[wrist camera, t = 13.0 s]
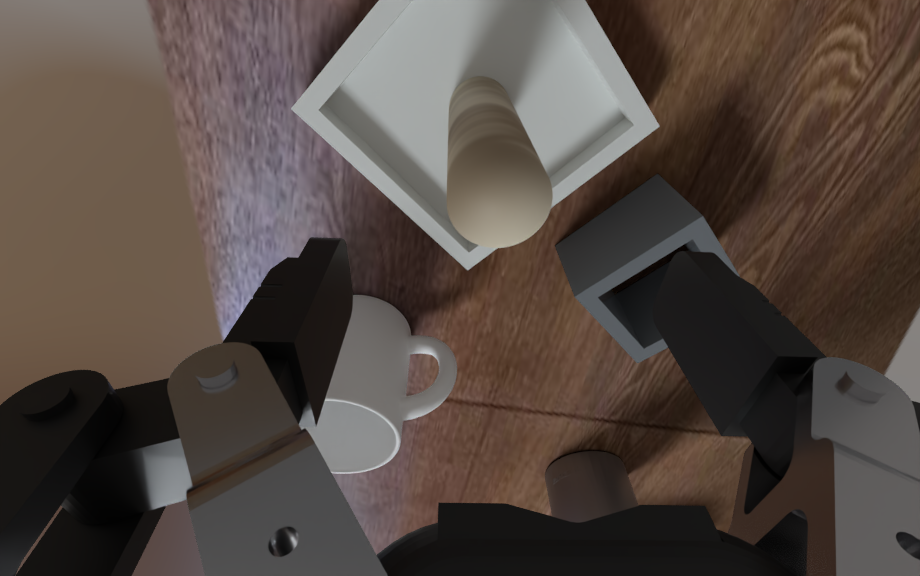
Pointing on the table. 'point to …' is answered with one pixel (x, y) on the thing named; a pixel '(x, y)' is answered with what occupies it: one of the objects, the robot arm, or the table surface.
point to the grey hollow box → (633, 260)
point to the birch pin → (493, 168)
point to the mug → (376, 388)
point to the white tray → (448, 65)
